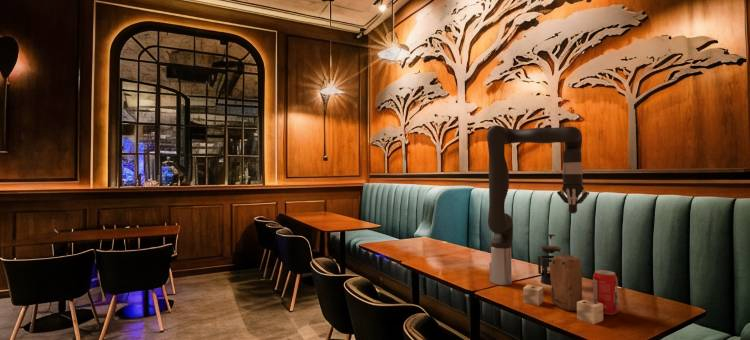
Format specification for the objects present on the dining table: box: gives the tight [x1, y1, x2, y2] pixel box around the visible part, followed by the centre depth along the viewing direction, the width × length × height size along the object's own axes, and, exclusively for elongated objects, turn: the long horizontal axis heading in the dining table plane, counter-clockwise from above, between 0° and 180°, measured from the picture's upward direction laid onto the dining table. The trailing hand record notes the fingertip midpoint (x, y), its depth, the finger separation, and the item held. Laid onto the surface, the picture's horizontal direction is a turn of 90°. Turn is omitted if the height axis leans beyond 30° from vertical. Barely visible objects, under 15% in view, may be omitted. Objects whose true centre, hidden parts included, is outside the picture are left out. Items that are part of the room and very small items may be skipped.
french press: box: [537, 233, 562, 286], centre depth 177 cm, size 12×9×23 cm
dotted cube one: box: [522, 284, 544, 307], centre depth 150 cm, size 6×6×6 cm
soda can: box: [592, 269, 619, 316], centre depth 139 cm, size 8×8×15 cm
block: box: [549, 253, 583, 312], centre depth 144 cm, size 11×8×20 cm
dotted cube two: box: [576, 298, 604, 325], centre depth 132 cm, size 6×6×6 cm
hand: (573, 213), depth 159 cm, fingers closed
